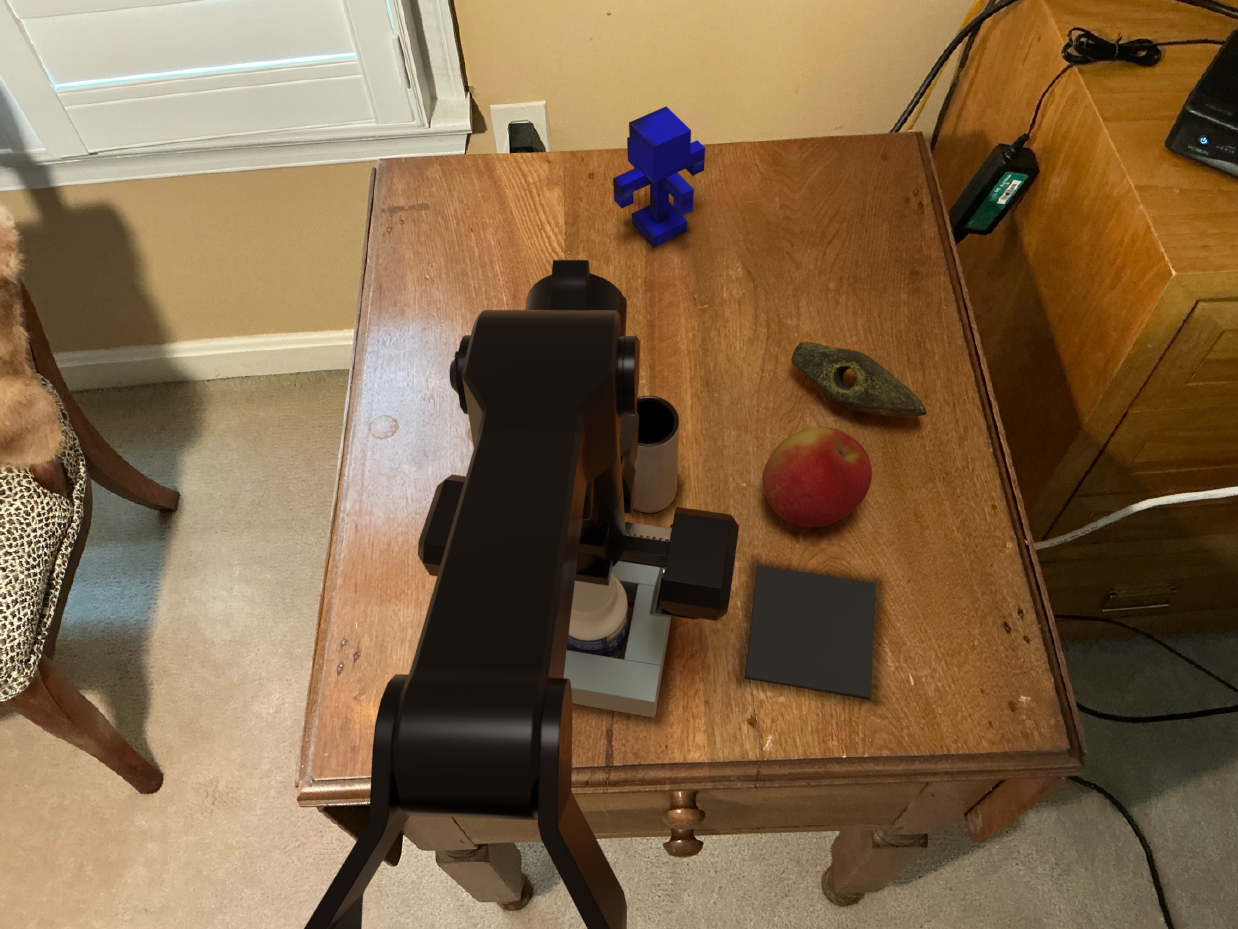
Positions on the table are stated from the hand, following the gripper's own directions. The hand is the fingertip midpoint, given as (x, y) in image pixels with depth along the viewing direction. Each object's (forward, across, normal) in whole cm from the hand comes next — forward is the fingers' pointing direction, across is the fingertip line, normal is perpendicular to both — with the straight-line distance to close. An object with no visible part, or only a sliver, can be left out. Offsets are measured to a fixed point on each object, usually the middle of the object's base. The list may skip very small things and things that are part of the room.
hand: (588, 598), depth 60 cm
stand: (+7, 0, 0) cm, 7 cm away
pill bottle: (+7, 0, 0) cm, 7 cm away
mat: (+7, -16, -3) cm, 18 cm away
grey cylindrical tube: (+7, -2, -13) cm, 15 cm away
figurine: (+7, +2, -43) cm, 44 cm away
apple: (+7, -15, -14) cm, 22 cm away
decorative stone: (+7, -18, -25) cm, 32 cm away
